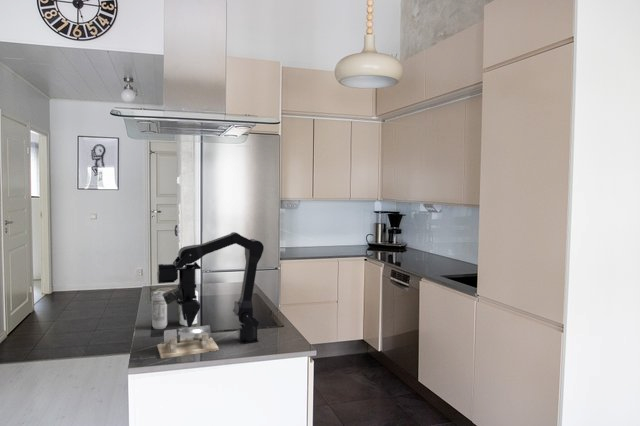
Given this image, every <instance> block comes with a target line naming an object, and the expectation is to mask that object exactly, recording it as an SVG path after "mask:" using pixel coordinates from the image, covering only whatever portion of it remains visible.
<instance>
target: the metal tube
mask: <svg viewBox="0 0 640 426" xmlns="http://www.w3.org/2000/svg"><path fill="white" fill-rule="evenodd" d="M206 333H208V339H210V338H212V337H211V334H212V331H211V325H209V324H208V325H199V326H191V327H183V328H175V329H166V330H164V331H163V339H164V340H163V341H164V343H163V344H165V345H167V344H170V338H174V337H176V338H177V343H182V342H190V341H198V340H202V334H206Z"/></svg>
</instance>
